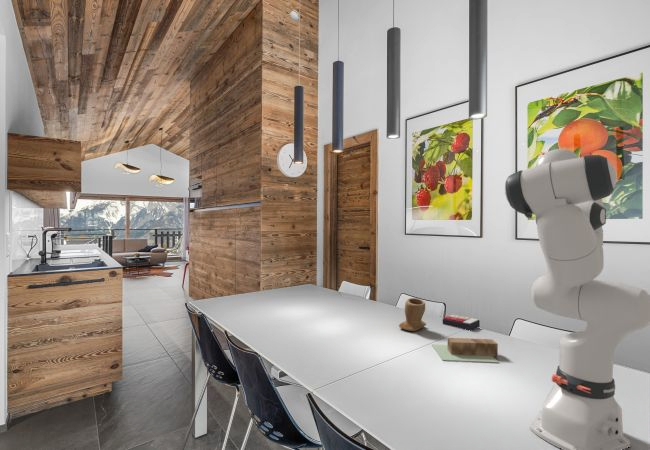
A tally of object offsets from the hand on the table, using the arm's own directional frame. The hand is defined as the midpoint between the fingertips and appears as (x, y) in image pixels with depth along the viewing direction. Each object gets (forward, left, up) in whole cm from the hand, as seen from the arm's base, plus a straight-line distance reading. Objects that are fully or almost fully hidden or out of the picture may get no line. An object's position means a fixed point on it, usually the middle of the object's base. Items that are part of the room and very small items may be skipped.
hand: (585, 280), depth 113 cm
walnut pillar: (-7, +27, -31) cm, 42 cm away
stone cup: (-11, +67, -34) cm, 76 cm away
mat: (-17, +35, -34) cm, 52 cm away
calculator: (+15, +59, -35) cm, 70 cm away
